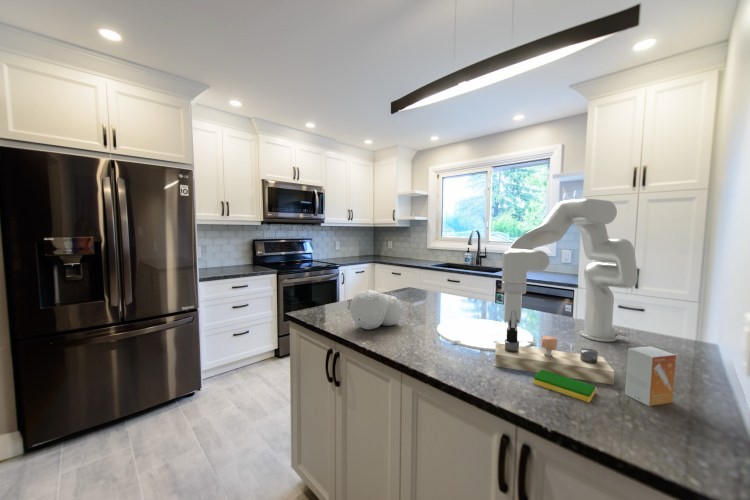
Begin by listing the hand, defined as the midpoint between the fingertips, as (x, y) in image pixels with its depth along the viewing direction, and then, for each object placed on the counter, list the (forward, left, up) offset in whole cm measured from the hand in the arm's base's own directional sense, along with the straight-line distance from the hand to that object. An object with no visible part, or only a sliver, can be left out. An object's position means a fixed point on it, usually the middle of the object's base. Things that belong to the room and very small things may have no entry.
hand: (511, 341), depth 104 cm
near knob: (-22, 0, -7) cm, 23 cm away
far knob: (0, 0, -7) cm, 7 cm away
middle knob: (-11, 0, -4) cm, 12 cm away
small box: (-33, +11, -8) cm, 36 cm away
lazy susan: (+10, -27, -8) cm, 30 cm away
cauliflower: (+57, -19, -8) cm, 61 cm away
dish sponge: (-13, +13, -8) cm, 20 cm away
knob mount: (-11, 0, -7) cm, 13 cm away
